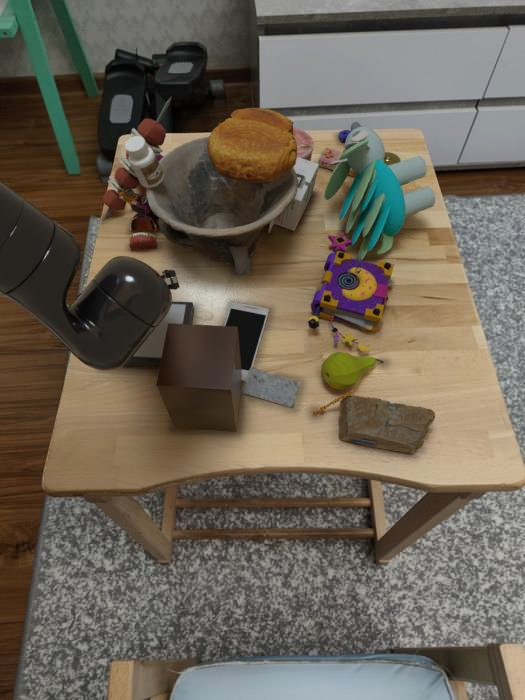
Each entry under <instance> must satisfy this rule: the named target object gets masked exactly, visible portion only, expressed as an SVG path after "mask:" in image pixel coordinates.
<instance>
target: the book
mask: <svg viewBox="0 0 525 700" xmlns="http://www.w3.org/2000/svg"><path fill="white" fill-rule="evenodd" d="M327 238H328V239H329V241H330V242H331V244H330V246H329V247H328V250H334V252H330V253H329V254H328V255H327V257H326V261H325V263H324V267H323V270H324V273H323V275H322V279H321V281H320V283H321V288H320V289H318V290H316V291H315V293H314V295H313V298H312V301H311V304H310V308H311V311H312V313H313V315H311V316H309V317H308V318H309V320H308V321H307V325H308V327H309V328H310V329H312V330H316V329H317V328H319V327H320V323H319V321H320V318H321V319H324V320H329V323H330V325H331V332H332V333H334V334H336V336H335V338H334V339H333V343H334V344H337V343H338V342H339V338H340V337H342V339H343V340H342V341H341V343H340V344H341V345H344V344H346V343H347V344H348V345H349V347H352V346H353V345H352V344H353V343H354V344H356V345H357V347H358V349H359V350H360V351H363V352H367V351H370V349H371V346H370V344H368V345H366V346H364V345H363V344H362V342H356V341H358V338H357V337H353V336H352V331H350V332H349V333H348V334H347V335H346V334H343V333H341V332H339V328H338V327H335V326H334V325H333V323H332V322H333V321H334V320H336V321H340V322H342V323H343V322H344V323H347V324H351V325H354V326H359V327H360V330H364V331H368V332H372V333H375V334H376V333H377V331H378V328H379V323H380V322H381V320H382V317H383V313H384V308H385V304H386V302H387V301H389V297H388V291H389V290H388V289H389V287H390V286H392V285H393V284H395V283H396V281H395V280H393V279H391V278H392V274H393V271H394V266H395V264H394V263H390V262H387V261H381V260H378V261H377V264H375V263H372V262H368V261H363V260H362V259H360V260H361V261H360V260H358V259H355V258H352V256H353V253H352V254H351V253H348V252H346V247H348V246H352V245H351V243H352V240H351V239H348V238H346V236H345V232H344V231H342V232H341V233H340V234H339V235H337V236H336V235H329V234H328V235H327ZM353 257H355V255H354V256H353Z"/></svg>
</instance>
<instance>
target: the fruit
mask: <svg viewBox="0 0 525 700" xmlns="http://www.w3.org/2000/svg"><path fill="white" fill-rule="evenodd" d="M377 362H380V363H382V364H384V362H385V361H384V360H381V359H379V358H376V357H373V356H357V355H352V354H350V353H349V352H344V351H336V352H333V353H331V354H330V355H328V357H326V359H325V360H323V362H322V363H321V376H322V378H323V380H324V381H325V382H326V383H327V385H328V386H329V387H330V388H331V389H334V390H348V389H350V388H352V387H353V386H355V384H357V383H358V382H359V381H360V380H361V378H362V377H363V376H364V375H365V374H367V373H368V372H369V371H371V370H372V369H373V368H374V367H375V366H376V364H377Z"/></svg>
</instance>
